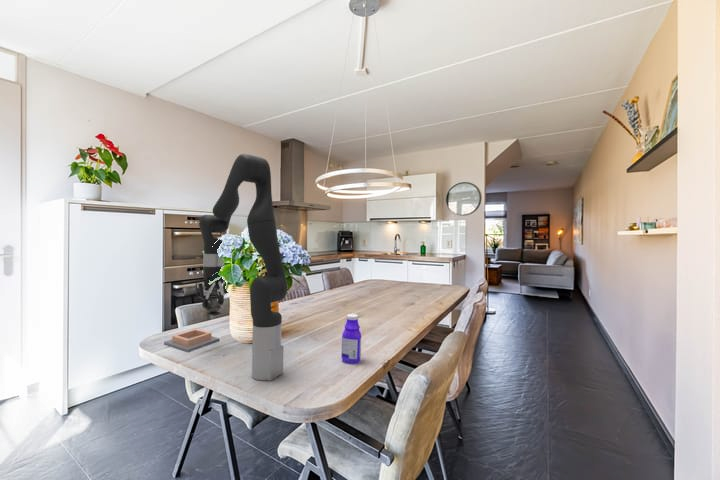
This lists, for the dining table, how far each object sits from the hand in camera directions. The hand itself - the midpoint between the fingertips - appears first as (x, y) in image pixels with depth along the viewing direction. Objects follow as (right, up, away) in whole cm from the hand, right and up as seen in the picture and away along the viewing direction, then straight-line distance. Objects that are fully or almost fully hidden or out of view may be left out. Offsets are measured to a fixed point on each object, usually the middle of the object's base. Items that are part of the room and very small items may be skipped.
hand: (213, 306), depth 116 cm
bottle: (+56, -19, -8) cm, 59 cm away
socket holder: (-12, -17, +6) cm, 22 cm away
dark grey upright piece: (0, -3, 0) cm, 3 cm away
